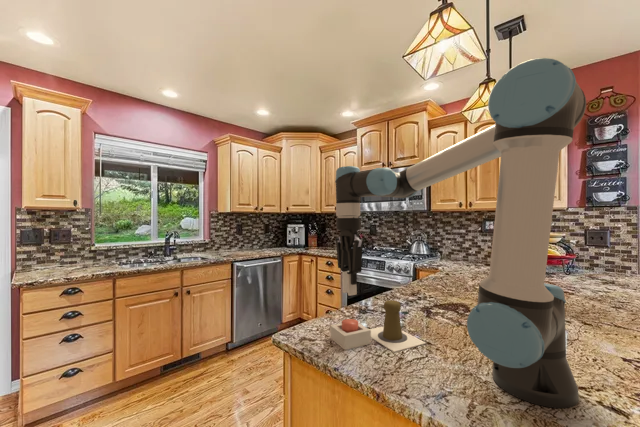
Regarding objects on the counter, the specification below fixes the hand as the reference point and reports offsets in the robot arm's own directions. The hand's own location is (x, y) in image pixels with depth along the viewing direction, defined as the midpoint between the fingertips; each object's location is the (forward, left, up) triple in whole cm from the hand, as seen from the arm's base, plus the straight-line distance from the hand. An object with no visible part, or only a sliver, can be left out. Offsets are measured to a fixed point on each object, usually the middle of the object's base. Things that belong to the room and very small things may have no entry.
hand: (349, 293), depth 87 cm
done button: (0, 0, -12) cm, 12 cm away
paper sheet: (-4, -13, -15) cm, 20 cm away
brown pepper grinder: (-4, -13, -14) cm, 20 cm away
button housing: (0, 0, -15) cm, 15 cm away
